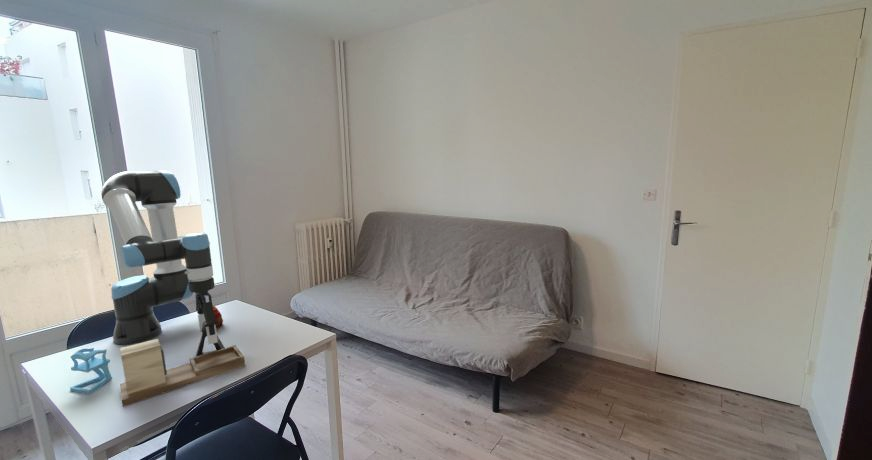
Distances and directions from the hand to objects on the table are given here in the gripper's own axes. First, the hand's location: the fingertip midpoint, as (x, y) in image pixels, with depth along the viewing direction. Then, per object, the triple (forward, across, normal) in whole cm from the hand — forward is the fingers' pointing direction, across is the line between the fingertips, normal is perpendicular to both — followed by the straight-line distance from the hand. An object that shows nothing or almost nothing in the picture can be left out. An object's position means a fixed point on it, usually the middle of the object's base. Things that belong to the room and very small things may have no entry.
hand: (208, 336), depth 134 cm
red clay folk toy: (+7, -26, +6) cm, 28 cm away
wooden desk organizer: (+7, +10, -9) cm, 16 cm away
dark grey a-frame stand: (+7, 0, 0) cm, 7 cm away
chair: (+7, -4, -31) cm, 32 cm away
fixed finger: (+5, +11, -19) cm, 22 cm away
